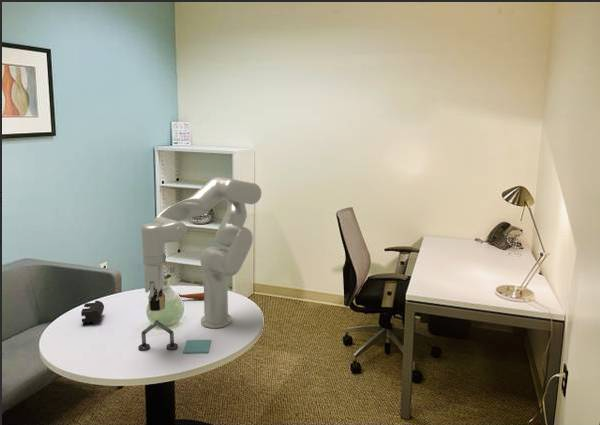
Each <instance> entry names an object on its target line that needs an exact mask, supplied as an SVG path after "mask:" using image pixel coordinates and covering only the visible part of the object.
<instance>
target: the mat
mask: <svg viewBox="0 0 600 425" xmlns="http://www.w3.org/2000/svg"><path fill="white" fill-rule="evenodd" d="M211 342H212V340H211V339H186V341H185V344H184V347H183V350H182V354H183V355H184V354H185V355H186V354H189V355H190V354H209V351H210V346H211Z"/></svg>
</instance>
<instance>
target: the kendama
mask: <svg viewBox="0 0 600 425" xmlns="http://www.w3.org/2000/svg"><path fill="white" fill-rule="evenodd" d="M178 294H179V296H180V297H181V298H183V299H194V300H203V301H204V292H200V293H199V292H198V293H188V294H180V293H178Z"/></svg>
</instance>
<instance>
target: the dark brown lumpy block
mask: <svg viewBox="0 0 600 425" xmlns="http://www.w3.org/2000/svg"><path fill="white" fill-rule="evenodd" d="M83 307H84V308H82V310H81V311H80V312H81V313H80V315H81V317H85V318H81V322H82V326H83V327H87V326H89V327H90V326H95V325H97V324H98V323H99V322H100V320H101V318H102V315H103V312H104V310H105V306H104V303H103V302H102V301H100V300H95V301H94V302H87V303H86V302H85V303H84V305H83Z"/></svg>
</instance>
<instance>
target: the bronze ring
mask: <svg viewBox="0 0 600 425" xmlns="http://www.w3.org/2000/svg"><path fill="white" fill-rule="evenodd" d="M154 295H156V293H154ZM147 297H148V309H149V311H151V310H150V296H149V295H148V296H147ZM158 299H159V300H160V310H159V311H158V312H161V311H163V310H165V308H166V303H165V295H164V293H162V292H159V296H158Z"/></svg>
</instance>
